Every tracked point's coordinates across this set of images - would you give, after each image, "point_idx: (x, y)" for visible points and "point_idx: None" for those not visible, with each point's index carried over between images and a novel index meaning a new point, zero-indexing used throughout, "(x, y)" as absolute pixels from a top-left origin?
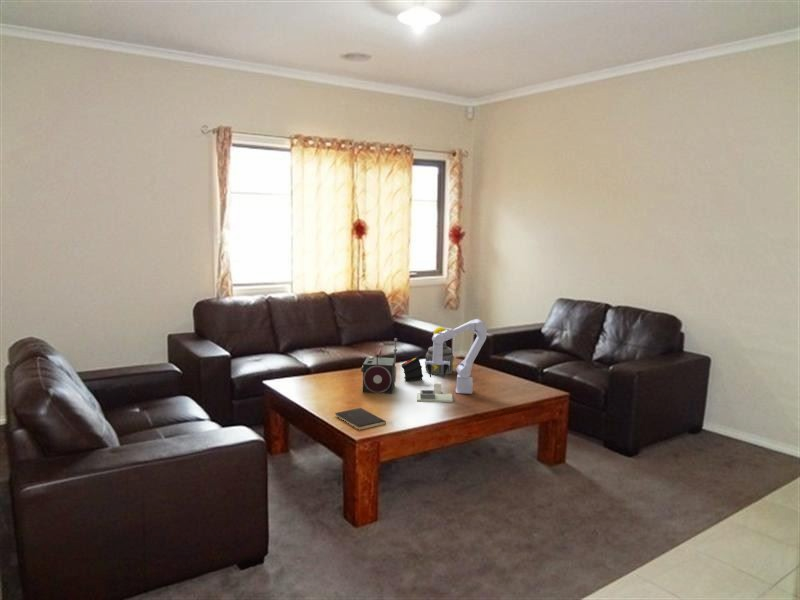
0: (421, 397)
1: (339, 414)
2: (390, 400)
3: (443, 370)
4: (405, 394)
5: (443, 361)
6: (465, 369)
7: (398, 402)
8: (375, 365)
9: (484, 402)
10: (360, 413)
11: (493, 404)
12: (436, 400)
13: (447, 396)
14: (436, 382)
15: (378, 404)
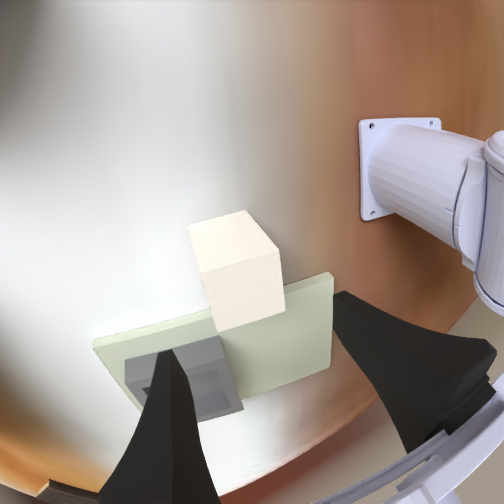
0: None
1: (49, 502)
2: (44, 427)
3: (385, 364)
4: (36, 354)
5: (481, 452)
6: None
7: (85, 437)
8: None
9: (440, 297)
10: (79, 501)
11: (454, 302)
12: (248, 395)
13: (306, 331)
14: (233, 291)
15: (44, 454)
